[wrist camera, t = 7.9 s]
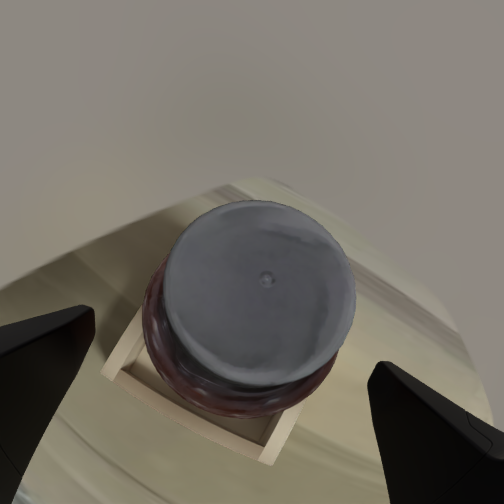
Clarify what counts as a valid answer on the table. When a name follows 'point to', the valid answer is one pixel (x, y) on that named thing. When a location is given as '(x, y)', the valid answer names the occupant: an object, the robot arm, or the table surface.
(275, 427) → the tray
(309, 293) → the supplement bottle
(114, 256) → the table surface
